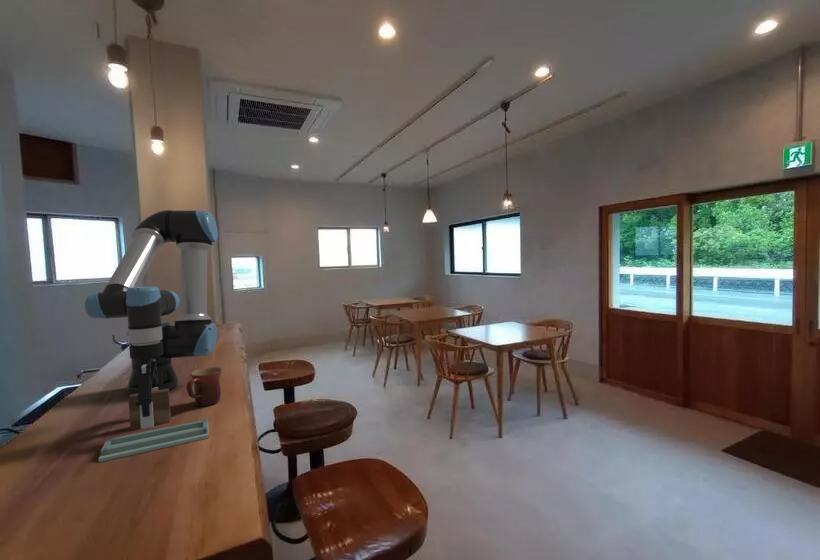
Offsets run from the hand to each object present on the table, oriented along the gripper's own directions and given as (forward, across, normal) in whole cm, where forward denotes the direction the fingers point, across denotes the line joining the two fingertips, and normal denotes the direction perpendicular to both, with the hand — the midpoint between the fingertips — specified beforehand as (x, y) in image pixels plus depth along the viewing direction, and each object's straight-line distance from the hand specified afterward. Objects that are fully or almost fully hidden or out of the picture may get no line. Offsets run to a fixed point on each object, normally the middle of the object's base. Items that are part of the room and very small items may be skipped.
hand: (150, 418), depth 103 cm
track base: (+2, +13, +3) cm, 13 cm away
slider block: (+2, 0, 0) cm, 2 cm away
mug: (+2, -8, +13) cm, 15 cm away
